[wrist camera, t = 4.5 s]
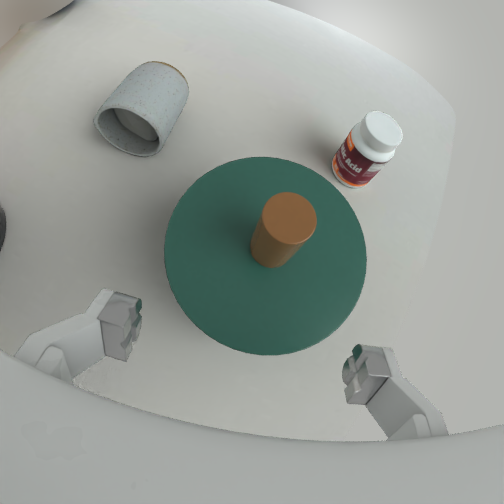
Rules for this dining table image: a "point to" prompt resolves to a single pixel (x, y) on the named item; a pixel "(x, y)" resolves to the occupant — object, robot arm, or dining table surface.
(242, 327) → the tin lid
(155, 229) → the dining table surface
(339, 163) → the pill bottle
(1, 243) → the cup
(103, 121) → the ceramic mug
